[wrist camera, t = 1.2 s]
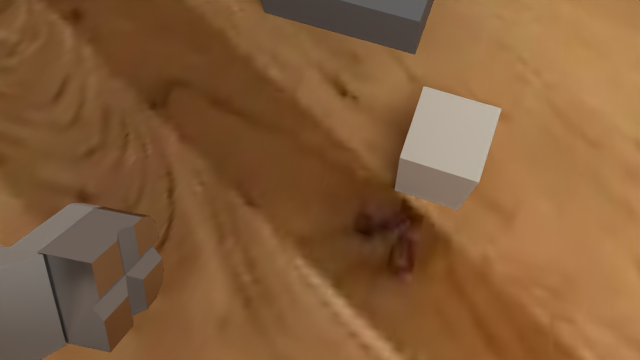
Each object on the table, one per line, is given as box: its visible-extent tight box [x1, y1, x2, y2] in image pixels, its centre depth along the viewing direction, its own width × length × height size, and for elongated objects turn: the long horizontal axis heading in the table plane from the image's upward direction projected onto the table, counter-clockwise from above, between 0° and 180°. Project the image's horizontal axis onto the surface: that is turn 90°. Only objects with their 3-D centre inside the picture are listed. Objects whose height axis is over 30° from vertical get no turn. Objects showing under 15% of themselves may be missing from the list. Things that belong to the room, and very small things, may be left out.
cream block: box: [395, 86, 501, 211], centre depth 35 cm, size 4×4×8 cm
